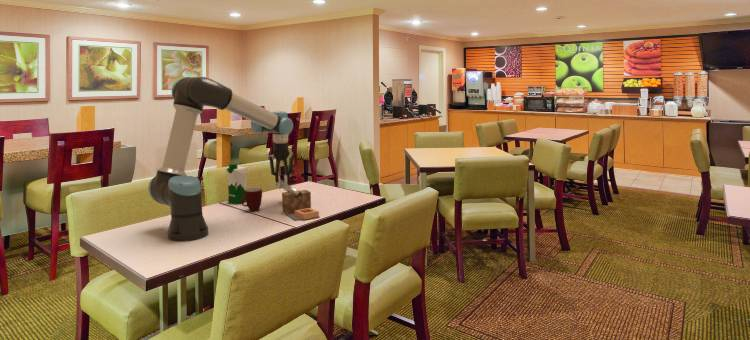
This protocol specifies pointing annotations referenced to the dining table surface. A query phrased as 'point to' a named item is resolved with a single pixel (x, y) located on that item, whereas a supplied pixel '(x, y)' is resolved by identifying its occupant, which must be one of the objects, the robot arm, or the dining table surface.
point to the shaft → (288, 188)
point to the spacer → (306, 213)
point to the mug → (252, 198)
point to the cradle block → (295, 201)
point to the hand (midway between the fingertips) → (282, 187)
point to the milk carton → (236, 183)
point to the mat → (297, 217)
